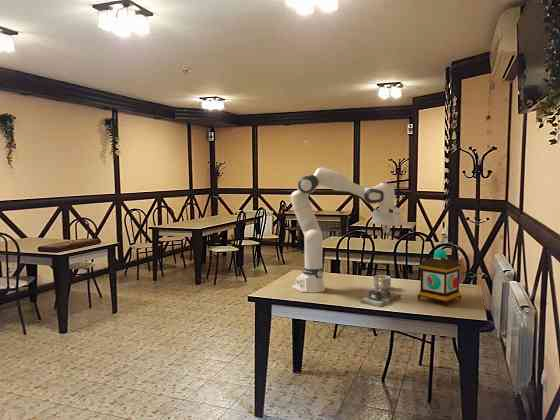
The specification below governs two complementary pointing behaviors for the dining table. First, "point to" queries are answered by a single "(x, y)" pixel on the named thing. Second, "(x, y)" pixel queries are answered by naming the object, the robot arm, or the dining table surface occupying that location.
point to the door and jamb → (380, 298)
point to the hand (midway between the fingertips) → (386, 232)
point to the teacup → (385, 285)
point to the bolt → (379, 288)
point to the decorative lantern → (440, 278)
